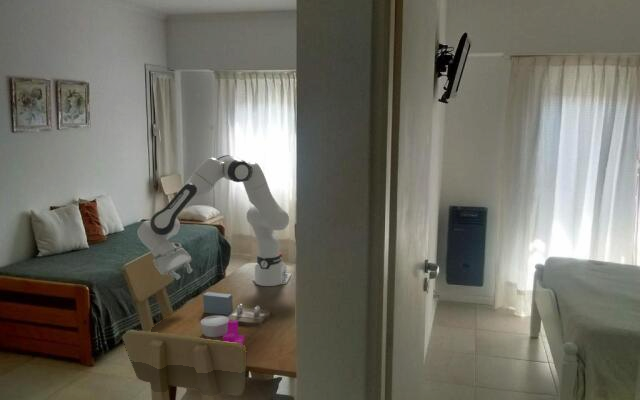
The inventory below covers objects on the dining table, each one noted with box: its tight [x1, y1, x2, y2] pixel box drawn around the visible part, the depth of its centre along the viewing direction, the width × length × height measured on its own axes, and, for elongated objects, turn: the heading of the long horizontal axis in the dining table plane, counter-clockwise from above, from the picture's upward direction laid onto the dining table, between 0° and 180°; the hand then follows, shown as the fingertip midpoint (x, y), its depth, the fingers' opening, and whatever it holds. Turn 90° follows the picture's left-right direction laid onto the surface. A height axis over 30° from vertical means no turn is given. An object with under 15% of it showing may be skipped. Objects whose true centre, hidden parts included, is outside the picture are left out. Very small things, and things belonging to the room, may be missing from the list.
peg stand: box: [226, 303, 273, 328], centre depth 223 cm, size 14×16×6 cm
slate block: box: [202, 291, 234, 316], centre depth 231 cm, size 4×12×8 cm, turn 72°
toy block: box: [222, 320, 245, 345], centre depth 196 cm, size 15×6×8 cm, turn 3°
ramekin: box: [200, 315, 229, 338], centre depth 209 cm, size 11×11×5 cm
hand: (185, 275), depth 234 cm, fingers open, 8 cm apart
